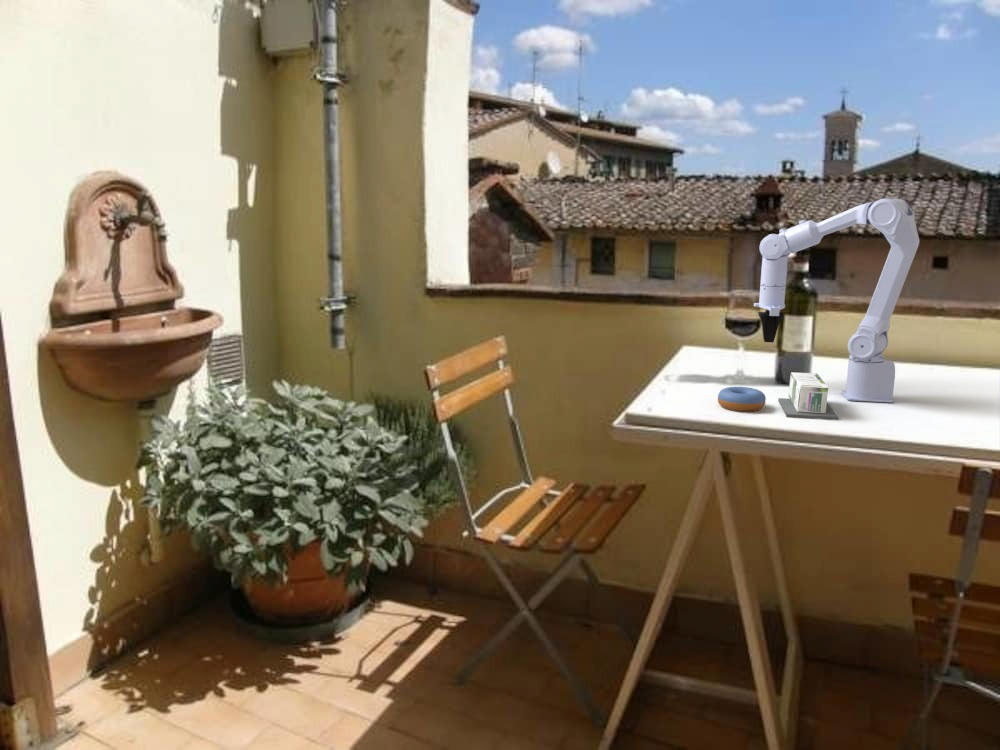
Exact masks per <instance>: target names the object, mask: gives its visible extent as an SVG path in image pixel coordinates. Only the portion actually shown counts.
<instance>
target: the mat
mask: <svg viewBox="0 0 1000 750" xmlns="http://www.w3.org/2000/svg"><path fill="white" fill-rule="evenodd" d="M777 401H778V403H779V405H780V407H781V409H782V411H783V413H784V415H785V417H786V418H797V417H798V418H800V419H801V418H802V419H814V418H824V419H823V420H832V419H838V420H839V416H838V414H837V413H836V412H835V410H834V409H833V408H832V406H831V405H830V404H829V402H828V401H827V404H826V413H808V412H797V410H796V408H795V407H794V405H793V403H792V401H791V400H790V398H783V397H781V398H780V397H778V400H777ZM798 418H797V419H798Z"/></svg>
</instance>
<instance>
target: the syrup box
mask: <svg viewBox="0 0 1000 750" xmlns="http://www.w3.org/2000/svg"><path fill="white" fill-rule="evenodd" d="M828 392H829V386H828V384H826V383H825V381H824V380H823V379H822V377H821V376H820V375H819V374H818V373H816V372H815V373H813V372H812V373H811V372H790V377H789V387H788V399H790V400H791V401H792V403H793V405H794V407H795V408H796V410H797V412H808V413H826V404H827V402H828V395H829V393H828Z"/></svg>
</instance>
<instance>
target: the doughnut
mask: <svg viewBox="0 0 1000 750" xmlns="http://www.w3.org/2000/svg"><path fill="white" fill-rule="evenodd" d="M766 397H767V396H766V395H765V393H764V392H763V391H762V390H759V389H757V388H753V387H746V386H729V387H725V388H722V389H720V391H719V393H718V395H717V403H718V404H719V405H720V406H721V408H724V409H726V410H729V411H734V412H742V413H744V412H745V413H747V412H748V413H751V411H752V412H757V411H760V410H762V409H763V408H764V407H765V405H766V400H767V398H766Z"/></svg>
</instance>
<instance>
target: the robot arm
mask: <svg viewBox="0 0 1000 750" xmlns="http://www.w3.org/2000/svg"><path fill="white" fill-rule="evenodd" d="M855 225H872V226H873V227H874V228H875V229H876V230H877V231H879V232H880V233H882V234H883V237H885V239H886V240H887V242H888V243H889V244H890V249H889V252H888V254H887V258H886V260H885V263H884V266H883V268H882V271H881V274H880V276H879V279H878V282H877V284H876V287H875V289H874V291H873V294H872V296H871V297H872V298H871V299H870V303H869V305H868V307H867V311H866V313H865V316H864V317H863V318H862V320H861V322H860V324H859V325H858V327H857V330H856V332H855V333H853V334H852V335H851V337H849V339H848V341H847V351H848V353H849V354H850V355H848V366H847V376H846V384H845V390H840V393H841V394H842V396H843V397H844V398H845V399H846V400H847V401H854V402H855V401H858V402H872V403H873V402H874V403H894V400H893V396H894V388H895V380H896V365H895V362H894V361H892V360H886V359H885V356H884V354H883V352H885V350H886V349H887V348H888V345H889V337H888V333H889V330H890V327H891V326H890V320H891V318H892V315H893V313H894V310H895V307H896V304H897V302H898V299H899V297H900V294H901V292H902V289H903V286H904V284H905V281H906V279H907V276H908V273H909V271H910V269H911V266H912V265H913V261H914V258H915V256H916V253H917V250H918V248H919V246H920V236H919V233H918V229H917V225H916V220H915V212H914V211H913V210H912V208H911V207H910V206H909V204H908V202H905V200H903V199H901V198H881V199H878V200H875V201H871V202H867V203H863V204H859V205H856V206H854V207H852V208H850V209H848V210H845V211H842V212H840V213H838V214H835V215H833V216H832V217H829V218H827V219H824V220H822V221H819V222H816V221H813V220H811V219H809V220H807V219H801V220H799V221H798V224H797V225H795V226H792V227H789V228H787V229H785V228H782V229H779V233H778V234H776V233H771V234H768V235H766V236H765V237H764V238H762V240H761V241H760V242H759V243H760V244H759V252H760V254H761V256H762V258H761V260H762V261H761V271H760V272H761V273H760V284H759V285H760V287H759V300H758V302H754V303H753V307H756V308H760V309H764V310H765V311H758V312H757V314H758V317H759V320H760V322H761V323H760V324H761V328H762V329H761V330H762V338H763V342H764V343H774V342H775V340H776V337H777V336H776V335H777V333H778V328H779V326H780V324H781V323H782V321H783V319H784V317H785V315H784V312H783V311H781V310H783V309H785V308H786V304H785V298H786V285H787V275H788V274H787V273H788V257H789V256H790V255H791V254H795V253H797V252H799V251H803V250H805V249H808V248H810V247H813V246H816V245H818V244H820V243H821V240H822V239H823V237H824V236H826V235H829V234H832V233H836V232H838V231H840V230H843V229H847V228H849V227H852V226H855Z"/></svg>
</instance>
